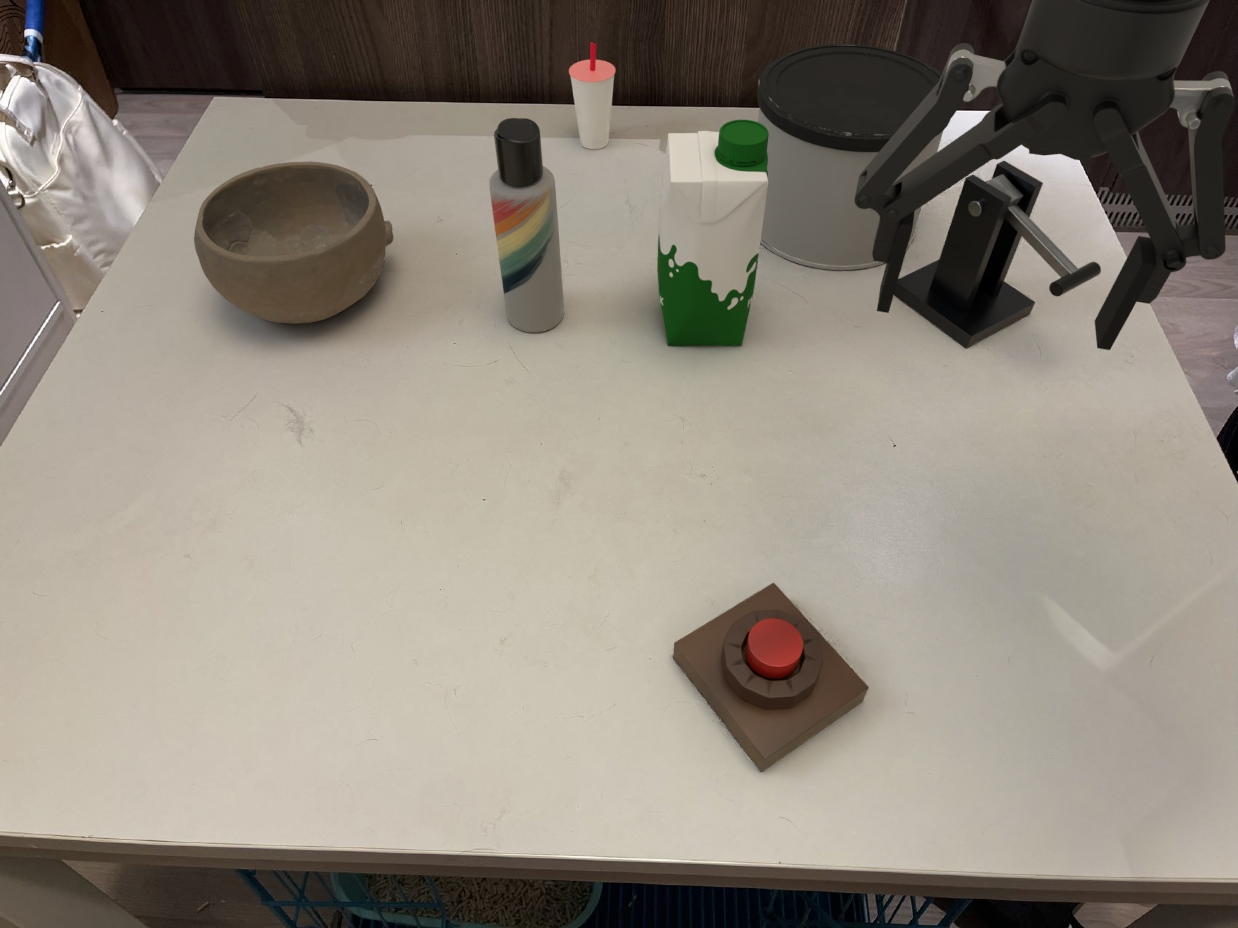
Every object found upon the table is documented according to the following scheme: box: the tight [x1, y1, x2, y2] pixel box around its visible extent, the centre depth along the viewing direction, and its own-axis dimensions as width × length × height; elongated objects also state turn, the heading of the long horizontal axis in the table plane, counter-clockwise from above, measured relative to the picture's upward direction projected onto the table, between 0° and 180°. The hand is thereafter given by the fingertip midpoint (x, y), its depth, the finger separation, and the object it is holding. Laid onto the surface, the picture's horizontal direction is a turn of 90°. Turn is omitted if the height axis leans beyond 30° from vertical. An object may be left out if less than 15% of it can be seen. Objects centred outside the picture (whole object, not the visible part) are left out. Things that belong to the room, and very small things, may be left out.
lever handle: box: [985, 174, 1102, 297], centre depth 78 cm, size 12×5×2 cm, turn 33°
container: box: [756, 43, 952, 271], centre depth 92 cm, size 19×19×15 cm
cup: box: [568, 41, 617, 150], centre depth 104 cm, size 5×5×12 cm
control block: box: [672, 582, 870, 773], centre depth 61 cm, size 10×9×4 cm
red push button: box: [746, 618, 803, 679], centre depth 59 cm, size 4×4×2 cm
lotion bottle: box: [488, 117, 565, 334], centre depth 80 cm, size 6×6×20 cm
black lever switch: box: [893, 160, 1044, 349], centre depth 83 cm, size 10×9×14 cm
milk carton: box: [656, 119, 769, 347], centre depth 80 cm, size 9×9×20 cm
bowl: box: [193, 161, 394, 324], centre depth 87 cm, size 17×18×10 cm
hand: (990, 317), depth 58 cm, fingers open, 13 cm apart
